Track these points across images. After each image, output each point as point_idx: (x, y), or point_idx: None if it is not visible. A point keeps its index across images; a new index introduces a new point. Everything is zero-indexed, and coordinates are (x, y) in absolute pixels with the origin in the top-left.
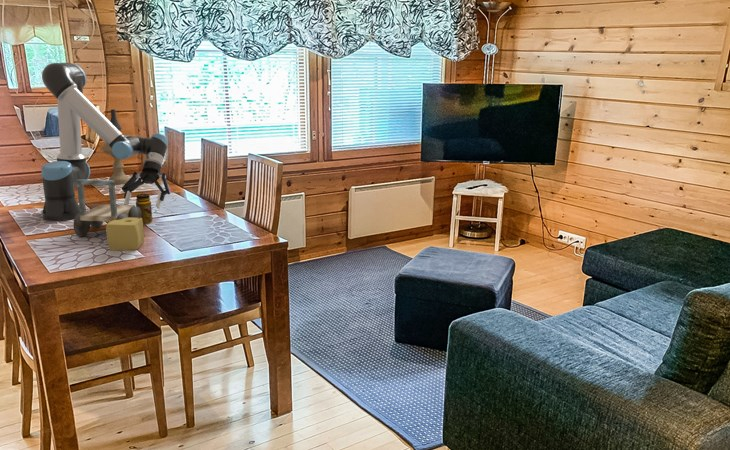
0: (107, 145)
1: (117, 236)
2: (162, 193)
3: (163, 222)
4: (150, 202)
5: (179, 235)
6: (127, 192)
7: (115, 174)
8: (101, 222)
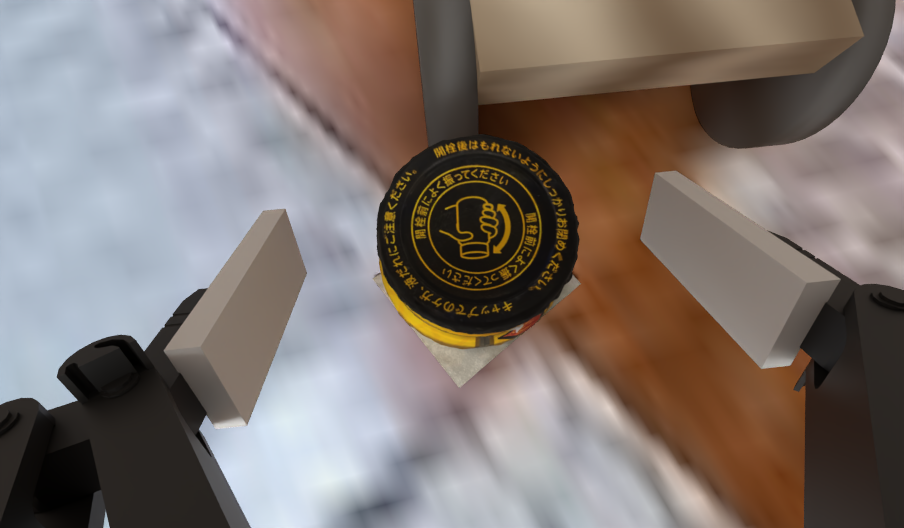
0: None
1: None
2: (157, 367)
3: (317, 316)
4: (379, 264)
5: (91, 48)
6: (801, 261)
7: None
8: (717, 117)
